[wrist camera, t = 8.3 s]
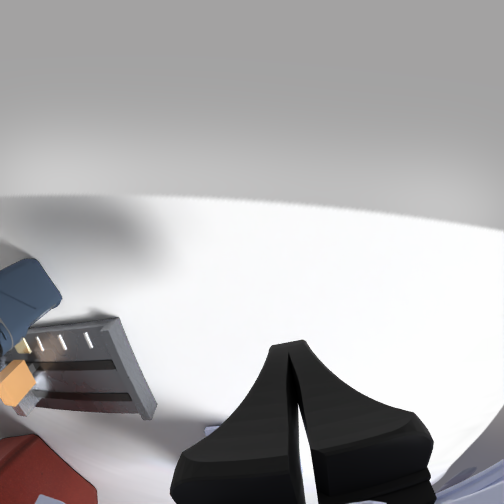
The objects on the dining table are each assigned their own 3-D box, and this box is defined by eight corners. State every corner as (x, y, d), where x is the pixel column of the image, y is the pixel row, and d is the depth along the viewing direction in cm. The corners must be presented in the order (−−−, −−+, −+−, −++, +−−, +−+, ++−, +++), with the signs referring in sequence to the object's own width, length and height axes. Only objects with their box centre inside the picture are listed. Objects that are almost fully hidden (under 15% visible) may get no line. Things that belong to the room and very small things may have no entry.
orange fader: (40, 377, 23) (15, 406, 19) (29, 377, 23) (4, 404, 19) (28, 355, 23) (0, 382, 18) (18, 355, 23) (-10, 381, 18)
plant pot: (60, 498, 34) (31, 561, 18) (-16, 424, 30) (-64, 484, 13) (128, 500, 31) (100, 589, 15) (30, 411, 27) (-35, 502, 11)
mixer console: (157, 404, 25) (145, 435, 21) (27, 398, 26) (10, 418, 22) (118, 317, 22) (97, 343, 19) (-9, 331, 24) (-30, 348, 20)
